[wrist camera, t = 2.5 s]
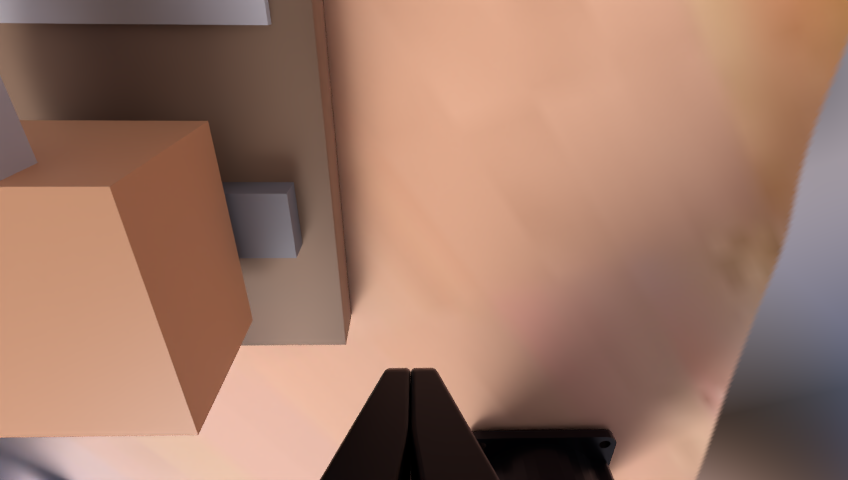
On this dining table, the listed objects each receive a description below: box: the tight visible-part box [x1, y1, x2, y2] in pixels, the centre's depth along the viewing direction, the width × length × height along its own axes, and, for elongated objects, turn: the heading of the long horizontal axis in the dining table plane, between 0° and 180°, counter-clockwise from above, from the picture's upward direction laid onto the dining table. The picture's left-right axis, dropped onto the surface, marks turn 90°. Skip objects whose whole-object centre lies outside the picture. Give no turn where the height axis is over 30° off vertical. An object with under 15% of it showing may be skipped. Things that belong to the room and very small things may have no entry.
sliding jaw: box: [0, 76, 253, 438], centre depth 10 cm, size 5×10×4 cm, turn 179°
